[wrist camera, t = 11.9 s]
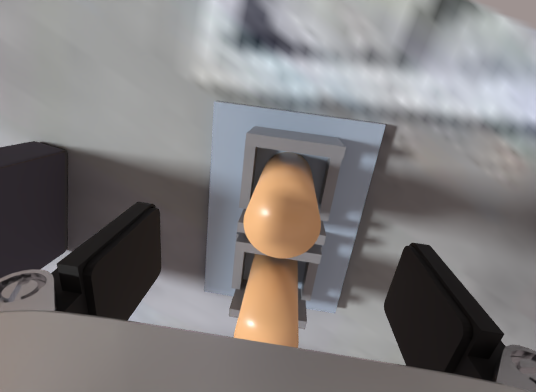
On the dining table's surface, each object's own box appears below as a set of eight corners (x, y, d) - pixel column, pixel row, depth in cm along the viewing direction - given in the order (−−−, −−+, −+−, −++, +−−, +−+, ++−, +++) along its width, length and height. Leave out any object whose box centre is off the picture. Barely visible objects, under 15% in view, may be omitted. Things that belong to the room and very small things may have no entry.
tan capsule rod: (265, 148, 22) (247, 183, 14) (315, 155, 22) (327, 194, 14) (260, 195, 24) (240, 252, 15) (307, 202, 24) (313, 263, 15)
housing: (217, 100, 22) (161, 107, 13) (381, 123, 22) (446, 147, 12) (207, 284, 29) (164, 377, 19) (333, 305, 28) (352, 412, 19)
